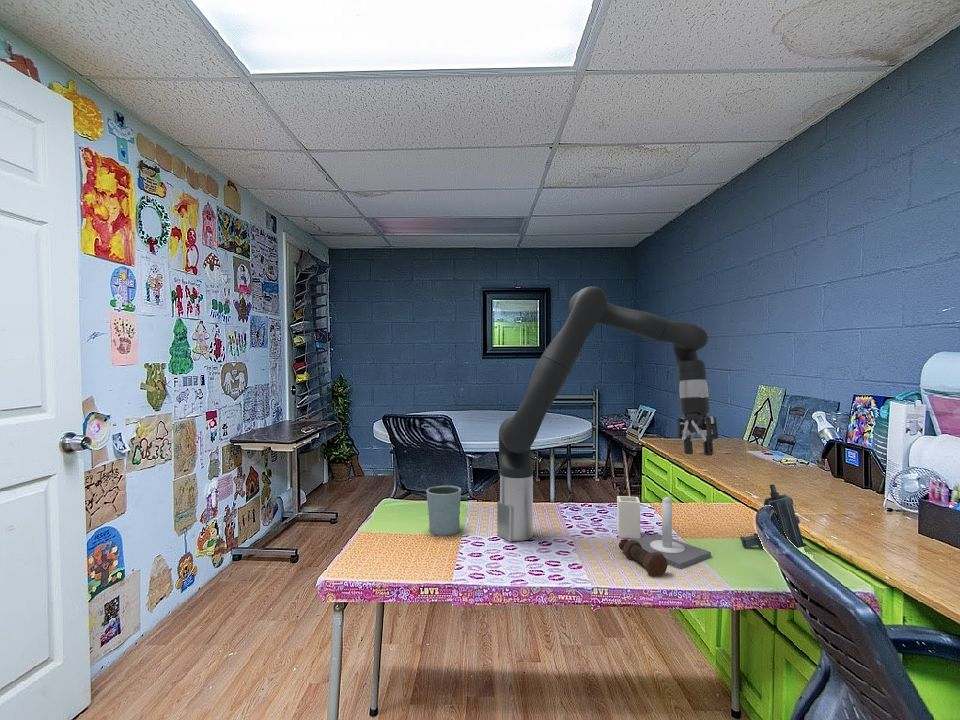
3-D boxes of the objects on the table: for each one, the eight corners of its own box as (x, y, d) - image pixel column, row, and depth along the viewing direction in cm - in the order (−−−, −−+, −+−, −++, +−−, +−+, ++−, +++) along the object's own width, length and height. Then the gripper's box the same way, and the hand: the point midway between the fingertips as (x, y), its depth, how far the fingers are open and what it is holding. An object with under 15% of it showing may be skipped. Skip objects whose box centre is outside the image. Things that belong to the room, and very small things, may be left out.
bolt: (626, 558, 128) (661, 582, 113) (610, 550, 127) (643, 573, 112) (635, 537, 128) (671, 558, 114) (620, 529, 127) (654, 549, 113)
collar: (640, 538, 136) (640, 502, 136) (618, 537, 137) (618, 501, 137) (637, 531, 142) (637, 497, 142) (617, 530, 143) (617, 495, 143)
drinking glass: (452, 538, 136) (452, 495, 136) (420, 534, 140) (420, 492, 140) (466, 527, 146) (466, 486, 146) (435, 523, 149) (435, 483, 149)
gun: (727, 493, 132) (784, 480, 130) (744, 554, 131) (801, 542, 130) (731, 496, 129) (789, 482, 128) (748, 558, 129) (807, 545, 127)
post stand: (679, 568, 117) (679, 509, 117) (625, 547, 130) (625, 493, 130) (710, 556, 124) (710, 500, 124) (656, 537, 137) (656, 486, 137)
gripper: (667, 398, 146) (671, 454, 143) (698, 394, 132) (703, 456, 129) (690, 398, 147) (694, 453, 145) (722, 394, 133) (728, 455, 131)
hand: (698, 454), depth 137 cm, fingers open, 8 cm apart
